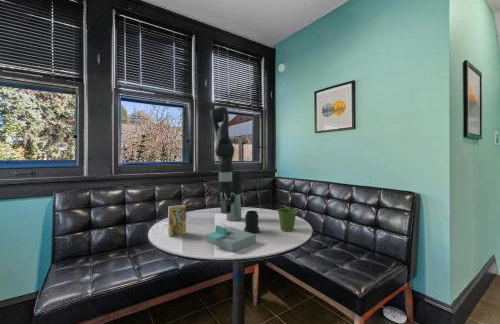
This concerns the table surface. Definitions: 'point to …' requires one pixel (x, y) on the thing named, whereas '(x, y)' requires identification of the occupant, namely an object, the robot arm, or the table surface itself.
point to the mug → (251, 222)
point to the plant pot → (287, 219)
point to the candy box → (176, 220)
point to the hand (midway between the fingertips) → (226, 210)
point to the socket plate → (234, 240)
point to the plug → (224, 206)
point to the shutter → (218, 233)
